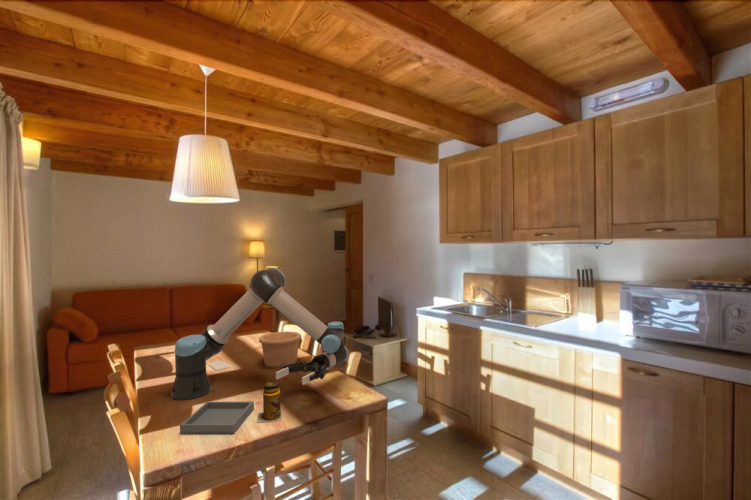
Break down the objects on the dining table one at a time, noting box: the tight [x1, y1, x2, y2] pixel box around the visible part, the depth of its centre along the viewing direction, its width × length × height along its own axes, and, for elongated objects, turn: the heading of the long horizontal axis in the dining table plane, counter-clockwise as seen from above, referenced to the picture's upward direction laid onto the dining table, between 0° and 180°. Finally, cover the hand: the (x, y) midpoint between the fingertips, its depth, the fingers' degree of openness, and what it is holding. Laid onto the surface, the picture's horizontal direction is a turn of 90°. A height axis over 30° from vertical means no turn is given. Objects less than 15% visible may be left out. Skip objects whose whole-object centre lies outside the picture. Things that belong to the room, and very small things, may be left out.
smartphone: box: [206, 360, 231, 372], centre depth 186 cm, size 7×1×15 cm
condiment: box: [255, 381, 283, 424], centre depth 128 cm, size 7×8×12 cm
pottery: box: [258, 331, 302, 369], centre depth 189 cm, size 22×22×14 cm
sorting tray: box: [179, 400, 255, 435], centre depth 126 cm, size 18×18×3 cm
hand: (289, 378), depth 137 cm, fingers open, 13 cm apart
